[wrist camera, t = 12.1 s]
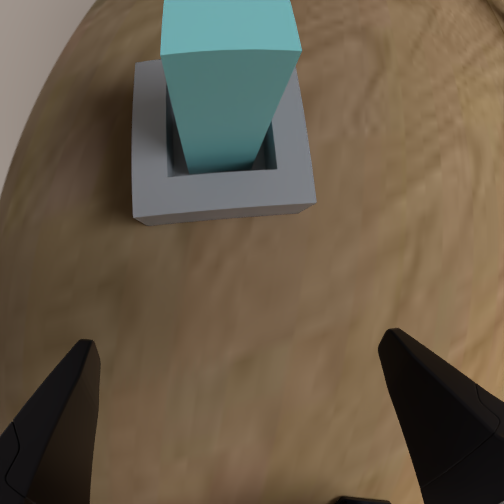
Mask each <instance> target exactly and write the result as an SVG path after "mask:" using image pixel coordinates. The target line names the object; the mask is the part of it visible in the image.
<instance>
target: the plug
mask: <svg viewBox="0 0 504 504" xmlns="http://www.w3.org/2000/svg"><path fill="white" fill-rule="evenodd" d="M301 52H302V49H301V44H300V40H299V35H298V31H297V27H296V23H295V19H294V15H293V11H292V7H291V3H290V0H164V8H163V20H162V35H161V53H160V56H161V60H162V65H163V69H164V74H165V78H166V82H167V86H168V91H169V95H170V99H171V103H172V108H173V112H174V116H175V120H176V124H177V128H178V132H179V136H180V140H181V144H182V148H183V152H184V156H185V160H186V163H187V167H188V171H189V174H200V173H212V172H225V171H240V170H251V168H252V166H253V163H254V161H255V158H256V156H257V154H258V151H259V149H260V146H261V144H262V142H263V139H264V137H265V135H266V132H267V130H268V127H269V125H270V123H271V120H272V118H273V116H274V113H275V111H276V109H277V106H278V104H279V102H280V100H281V97H282V95H283V93H284V90H285V88H286V86H287V84H288V81H289V79H290V77H291V74H292V72H293V70H294V68H295V65H296V63H297V61H298V59H299V57H300V54H301Z"/></svg>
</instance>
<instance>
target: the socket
mask: <svg viewBox="0 0 504 504" xmlns="http://www.w3.org/2000/svg"><path fill="white" fill-rule="evenodd" d="M315 203H316V194H315V186H314V178H313V171H312V163H311V156H310V149H309V143H308V136H307V129H306V123H305V117H304V111H303V105H302V99H301V93H300V88H299V82H298V77H297V71H296V66H295V68H294V70H293V72H292V74H291V77H290V79H289V81H288V84H287V86H286V88H285V90H284V93H283V95H282V97H281V100H280V102H279V104H278V106H277V109H276V111H275V113H274V116H273V118H272V120H271V123H270V125H269V127H268V130H267V132H266V135H265V137H264V139H263V142H262V144H261V146H260V149H259V151H258V154H257V156H256V158H255V161H254V163H253V166H252V168H251V170H240V171H225V172H212V173H200V174H189V171H188V167H187V163H186V160H185V156H184V152H183V148H182V144H181V140H180V136H179V132H178V128H177V124H176V120H175V116H174V112H173V108H172V103H171V99H170V95H169V91H168V86H167V82H166V78H165V74H164V69H163V65H162V60H161V59H159V60H151V61H144V62H138V63H136V64H135V77H134V92H133V113H132V204H133V218H134V219H136V220H138V221H140V222H142V223H143V224H145V225H147V226H152V225H162V224H172V223H183V222H193V221H205V220H216V219H228V218H240V217H253V216H267V215H281V214H296V213H300V212H301V211H303V210H305V209H307V208H308V207H310V206H312V205H314V204H315Z"/></svg>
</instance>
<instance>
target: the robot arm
mask: <svg viewBox="0 0 504 504" xmlns="http://www.w3.org/2000/svg"><path fill="white" fill-rule="evenodd" d="M378 354H379V357H380V361H381V365H382V369H383V372H384V376H385V380H386V384H387V388H388V391H389V394H390V397H391V400H392V403H393V406H394V408H395V411H396V414H397V417H398V420H399V423H400V426H401V429H402V432H403V435H404V438H405V441H406V444H407V447H408V450H409V453H410V456H411V459H412V463H413V466H414V469H415V472H416V476H417V479H418V482H419V486H420V488H421V489H420V490H421V493H422V497H423V500H424V504H504V402H503V401H501V400H500V399H498V398H496V397H495V396H493V395H492V394H490V393H489V392H488V391H486V390H485V389H483V388H482V387H481V386H479V385H478V384H477V383H475V382H474V381H472V380H471V379H470V378H468V377H467V376H465V375H464V374H463V373H461V372H460V371H459V370H457V369H456V368H454V367H453V366H452V365H450V364H449V363H447V362H446V361H445V360H443V359H442V358H440V357H439V356H438V355H436V354H435V353H434V352H432V351H431V350H429V349H428V348H426V347H425V346H424V345H422V344H421V343H419V342H418V341H417V340H415V339H414V338H412V337H411V336H410V335H408V334H407V333H405V332H404V331H402V330H401V329H399V328H392V329H388V330H387V331H386V332H385V334H384V336H383V338H382V340H381V342H380V344H379V346H378ZM99 383H100V357H99V354H98V351H97V348H96V345H95V342H94V341H93V340H89V339H80V340H79V341H78V342H77V343H76V344H75V345H74V346H73V347H72V349H71V350H70V351H69V352H68V353H67V354H66V356H65V357H64V358H63V359H62V360H61V361H60V363H59V364H58V365H57V366H56V367H55V368H54V370H53V371H52V372H51V373H50V374H49V376H48V377H47V378H46V379H45V380H44V382H43V383H42V384H41V385H40V387H39V388H38V389H37V390H36V391H35V393H34V394H33V395H32V396H31V398H30V399H29V400H28V401H27V403H26V404H25V405H24V406H23V408H22V409H21V410H20V411H19V413H18V414H17V415H16V417H15V418H14V419H13V422H11V423H10V424H9V426H8V427H7V428H6V429H5V431H4V432H3V433H2V434H1V436H0V504H90V486H91V472H92V461H93V451H94V442H95V434H96V426H97V418H98V408H99ZM343 501H344V502H343ZM335 504H391V503H390V502H389V501H382V500H371V499H361V498H353V497H341V498H340V499H339V500H338V501H337V502H336V503H335Z"/></svg>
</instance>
